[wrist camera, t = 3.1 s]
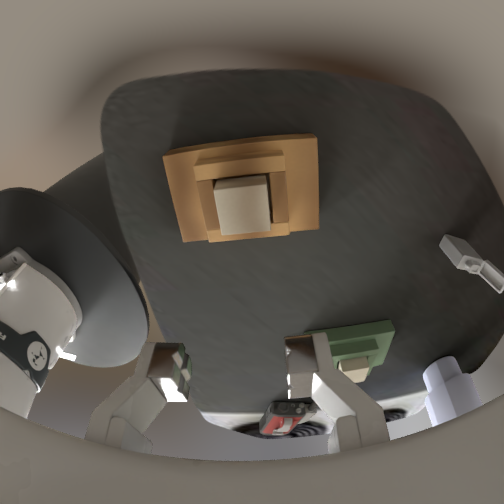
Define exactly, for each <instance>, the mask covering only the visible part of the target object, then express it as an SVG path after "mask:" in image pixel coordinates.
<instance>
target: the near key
mask: <svg viewBox="0 0 504 504" xmlns="http://www.w3.org/2000/svg"><path fill="white" fill-rule="evenodd" d="M213 191H214V196H215V202H216V207H217V213H218V218H219V223H220V228H221V234H222V235H231V234H241V233H252V232H262V231H271V222H270V212H269V201H268V191H267V182H266V175H258V176H249V177H240V178H231V179H223V180H217V181H216V184H215V187H214V190H213Z"/></svg>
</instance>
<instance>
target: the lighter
mask: <svg viewBox="0 0 504 504" xmlns="http://www.w3.org/2000/svg"><path fill="white" fill-rule="evenodd" d="M439 247H440V248H441V249H442V250H443V251H444V253H445V254H446V255H447V256H448V257H449V259H450V260H451V261H452V262H453V264H454V265H455V266H456V267H457V268H458V269H463V270H467V271H468V272H469V273H473V274H479V275H480V276H481V277H482V278H483V279H484V280H485V281H487V282H488V283H489V284H490V285H491V286H492V287H493V288H494V289H495V290H496V291H497V292H498V293H502V291H503V290H504V274H503V273H502V272H501V271H500V270H498V269H497V268H496V267H495V266H494V265H493V264H492V263H491V262H489V261H488V260H485V261H483V259H482V258H481V257H480V256H479V255H478V254H477V253H476V252H475V250H474V249H473V248H472V247H471V246H470V245H469V244H468V243H467V242H466V241H465V240H463V239H460V238H457V237H454V236H451V235H447V234H445V235H444V236H443V238H442V240H441V242H440V244H439Z"/></svg>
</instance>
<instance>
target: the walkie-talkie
mask: <svg viewBox="0 0 504 504" xmlns="http://www.w3.org/2000/svg"><path fill="white" fill-rule="evenodd" d="M316 406H317V404H316V403H315V401H313V403H311V404H304V403H302V402H276V401H275V402H272V403H271V404H270V406H269V407H268V409H267V411H266V412H265V414H264V416H263V417H262V419H261V420H260V422H259V426H260V433H262V434H263V435H285V434H287V433H290V431H291V430H292V429H293V428H294V427H295V426H296V425H297V424H300V423H303V422H306V421H308V420H309V419H310V418H311V417H312V416H313V415H315V414H316Z"/></svg>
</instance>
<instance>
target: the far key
mask: <svg viewBox="0 0 504 504" xmlns="http://www.w3.org/2000/svg"><path fill="white" fill-rule="evenodd" d="M338 369H339V370H341V371H342V372H343V373H344V374H345V375H346V376H347V377H348V378H349V379H351V380H352V381H353V382H354V383H357V382H362V381H364V380H365V378H366V375H367V373H368V370H369V364H368V361H367V357H366V356H364V357H359V358H353V359H346V360H340V361H339V364H338Z"/></svg>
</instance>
